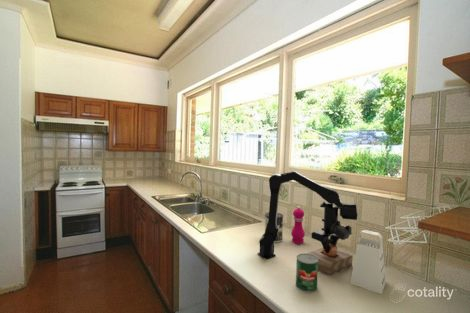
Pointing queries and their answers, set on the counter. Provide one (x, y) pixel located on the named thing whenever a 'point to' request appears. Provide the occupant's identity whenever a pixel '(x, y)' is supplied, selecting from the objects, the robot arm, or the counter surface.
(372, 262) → the grater
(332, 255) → the tall wooden block
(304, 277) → the canned tomato
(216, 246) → the counter surface
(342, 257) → the well block
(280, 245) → the counter surface
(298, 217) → the pepper mill
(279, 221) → the coffee can
